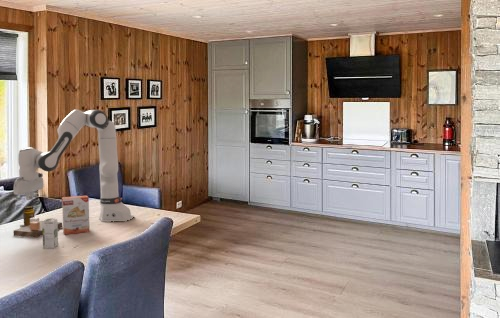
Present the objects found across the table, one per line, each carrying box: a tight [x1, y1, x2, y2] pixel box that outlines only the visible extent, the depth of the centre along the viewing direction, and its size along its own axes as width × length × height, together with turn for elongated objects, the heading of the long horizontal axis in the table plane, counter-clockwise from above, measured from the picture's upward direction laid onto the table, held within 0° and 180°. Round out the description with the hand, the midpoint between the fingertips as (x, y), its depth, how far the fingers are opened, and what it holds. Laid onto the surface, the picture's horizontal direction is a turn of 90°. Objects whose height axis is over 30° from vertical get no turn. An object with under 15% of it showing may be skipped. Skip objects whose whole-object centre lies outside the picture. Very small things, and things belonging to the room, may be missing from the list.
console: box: [13, 220, 63, 239], centre depth 256 cm, size 15×22×3 cm
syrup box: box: [42, 218, 59, 250], centre depth 227 cm, size 6×6×14 cm
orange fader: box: [30, 222, 40, 230], centre depth 248 cm, size 4×3×4 cm
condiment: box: [19, 205, 36, 228], centre depth 267 cm, size 7×8×12 cm
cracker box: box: [61, 195, 91, 235], centre depth 253 cm, size 14×6×21 cm, turn 117°
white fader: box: [30, 216, 40, 223], centre depth 257 cm, size 4×3×4 cm
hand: (29, 199), depth 253 cm, fingers closed
